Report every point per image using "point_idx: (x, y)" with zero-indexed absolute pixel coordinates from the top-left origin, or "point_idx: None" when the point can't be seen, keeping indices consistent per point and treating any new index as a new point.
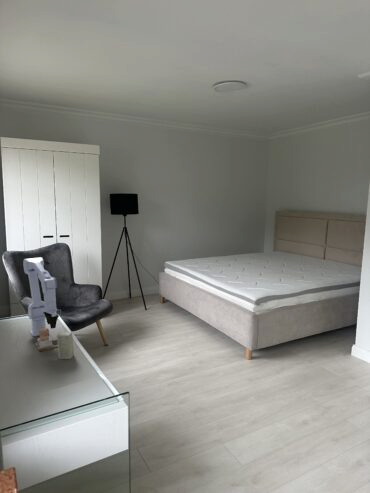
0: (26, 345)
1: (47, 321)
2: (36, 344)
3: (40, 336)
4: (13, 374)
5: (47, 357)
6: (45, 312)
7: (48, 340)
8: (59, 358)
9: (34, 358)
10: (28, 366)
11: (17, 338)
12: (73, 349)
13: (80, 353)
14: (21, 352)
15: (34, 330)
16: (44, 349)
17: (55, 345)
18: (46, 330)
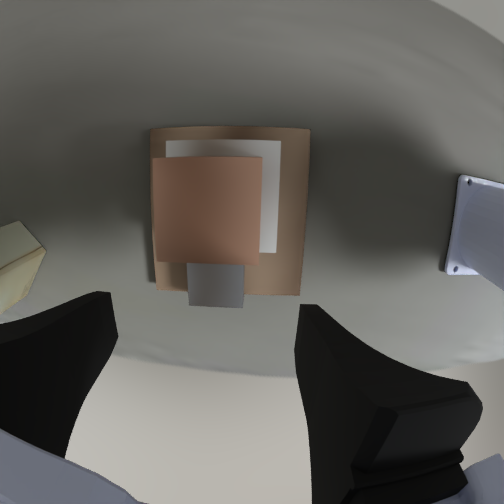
0: (338, 78)
1: (307, 324)
2: (273, 131)
3: (208, 156)
4: (4, 20)
5: (50, 166)
6: (369, 444)
7: None
8: (17, 223)
9: (76, 93)
10: (19, 68)
11: (483, 88)
12: (7, 307)
13: None
14: (223, 24)
15: (495, 196)
16: (152, 167)
17: None
18: (169, 234)
